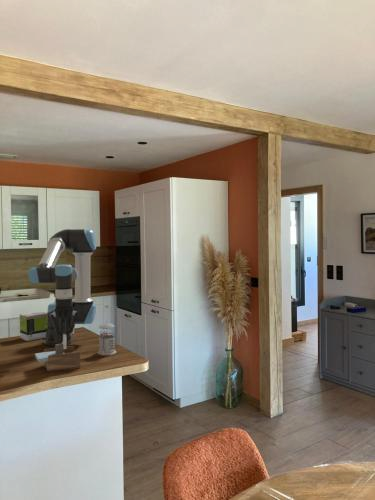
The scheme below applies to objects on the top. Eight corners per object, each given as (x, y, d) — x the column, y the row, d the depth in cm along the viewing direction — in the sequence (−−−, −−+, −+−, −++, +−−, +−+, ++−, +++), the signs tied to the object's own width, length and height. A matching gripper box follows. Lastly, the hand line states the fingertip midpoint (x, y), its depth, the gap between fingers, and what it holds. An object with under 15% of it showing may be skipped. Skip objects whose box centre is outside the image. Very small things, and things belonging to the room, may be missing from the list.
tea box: (43, 334, 256) (43, 310, 255) (51, 337, 249) (51, 312, 248) (19, 338, 245) (19, 313, 245) (26, 341, 238) (26, 316, 238)
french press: (119, 350, 219) (119, 303, 219) (109, 356, 208) (109, 307, 207) (102, 349, 222) (102, 303, 221) (92, 355, 211) (92, 306, 210)
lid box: (44, 365, 194) (44, 349, 194) (74, 361, 200) (74, 345, 200) (48, 372, 183) (48, 355, 183) (80, 368, 190) (80, 351, 190)
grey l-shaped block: (35, 356, 191) (34, 344, 190) (61, 353, 196) (61, 341, 196) (38, 362, 182) (38, 350, 182) (66, 358, 188) (66, 346, 187)
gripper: (50, 300, 185) (51, 352, 186) (79, 298, 191) (80, 348, 192) (47, 297, 192) (48, 348, 192) (76, 296, 198) (76, 344, 198)
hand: (64, 348), depth 192 cm, fingers closed
